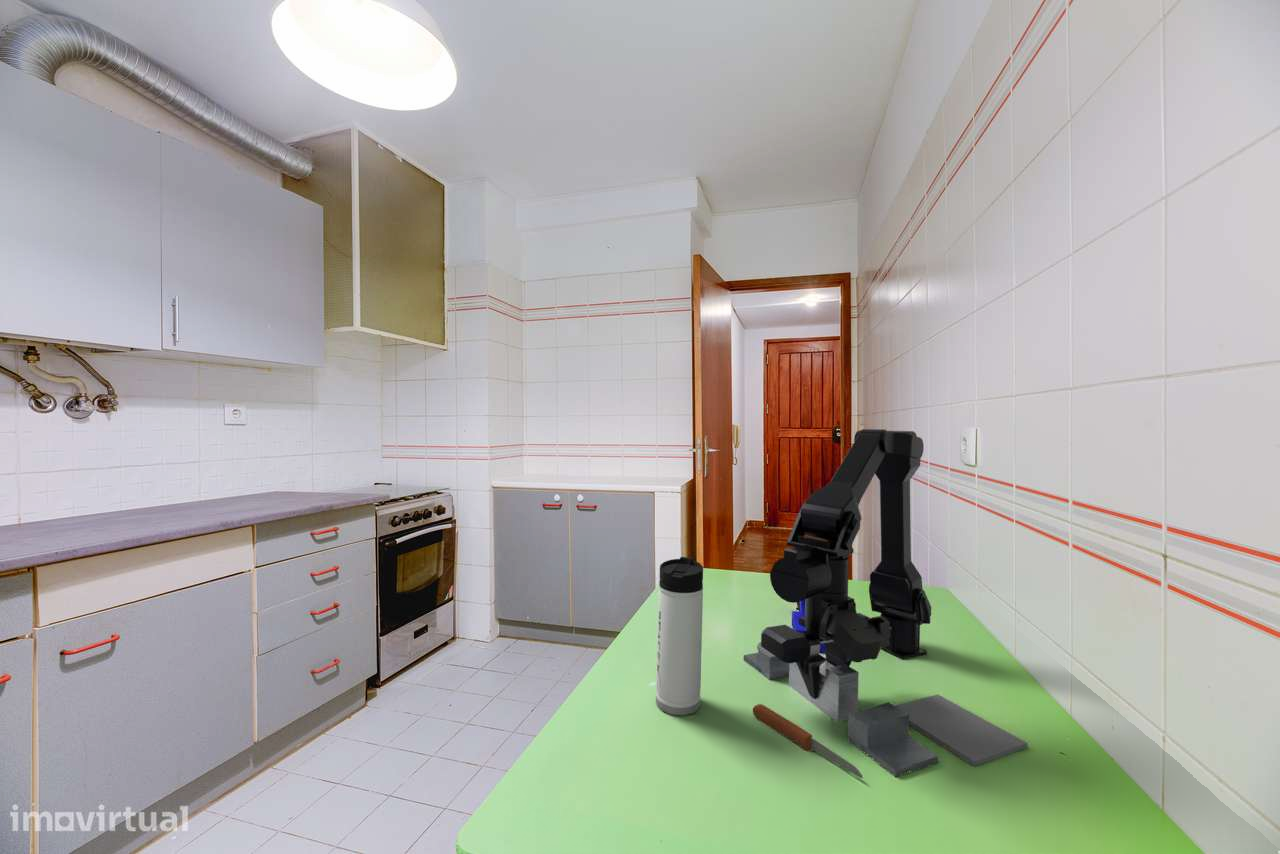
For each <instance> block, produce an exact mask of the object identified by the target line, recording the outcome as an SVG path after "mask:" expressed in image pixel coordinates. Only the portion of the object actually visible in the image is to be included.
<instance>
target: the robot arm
mask: <svg viewBox="0 0 1280 854" xmlns="http://www.w3.org/2000/svg"><path fill="white" fill-rule="evenodd" d="M923 454H924V441H923V438H921V437H919V436H917V433H916V432H915V431H914V430H887V429H884V428H882V429H879V428H862V429H860V430H857V431H856V432H855V434H854V439H853V443H852V445H851V447H849V450H848V451H847V454H845V457H844V458H843V460H842V461H841V464H840V465H839V467H838V468H837V470H836V472H835V473H834V475H833V476H832V478H831V480H830V482H829V483H828V484H826V485H825V486H822V487H820V488H819V489H818V488H817V490H814V491H813V493H811V494H810V496H809V497H808V498H807V499H806V500H805V501H804V503H803V504H802V506H801V507H800V510H799V511H798V513H797V517H796V519H795V521H794V523H793V526H792V529H791V531H790V534H789V537H788V539H787V542H786V545H787V546H788V547H787V548H784V550H783V557H782V558H779V559H777V560H776V562H774V563H773V565H772V568H771V570H770V571H769V573H770V574H769V580H770V584H771V587H772V589H773V590H774V592H775V594H777V596H778V597H780V599H782V600H784V601H785V602H787V603H794V604H795V603H796V604H797V602H800V601H802V600H805V617H799V624H800V625H801V626H803V627H805V631H803V632H797V631H796V630H794V629H793V627H791V626H789V625H787V624H779V625H774V626H766V627H765V628H764V629H762V631H761V634H760V635H761V636H760V638H761V639H760V642H761V647H763V648H764V649H766V650H767V651H769V652H770V653H771V654H773V655H774V656H776V657H777V658H779V659H780V660H782V661H783V662H786V663H795V662H796V664H797V666H798V668H799V670H800V673H801V675H802V678H803V680H804V683H805V685H806V688H807V690H808V692H809V695H810V696H811V697H812V698H813V699H817V695H818V689H819V672H820V665H821V664H822V663H824V662H825V661H827V662H828V663H830V664H832V665H833V666H839V665H844V664H846V665H847V666H849V667H851V666H850V665H851V664H852V662H853V663H857V664H859V663H862V662H863V661H867V660H876V659H878V656H879V653H880V651H881V649H882V650H884V651H886V652H888V653H890V654H892V655H894V656H896V657H898V658H899V659H903V660H904V659H909V658H913V657H917V656H923V655H927V654H928V649H925V648H923V647H921V646H920V642H921V639H920V638H921V636H920V635H921V625H923V624H925V625H927V624H929V625H930V624H931V616H932V605H931V603H930V600H929V599H928V596H927V594H926V592H925V590H924V589H923V578H922V575H921V574H920V572H919V570H918V569H917V568H916V566H915V565H914V563H913V562H912V546H911V545H912V543H911V541H912V539H911V538H912V536H911V533H912V532H911V531H912V530H911V527H912V526H911V525H912V524H911V479H912V478H913V476H914V475H915V474H916V473H917V471H918V469H920V466H921V458H922V457H923ZM874 476H876V478H877V479H878V480H879V508H880V509H879V510H880V513H879V514H880V515H879V517H880V562H879V563H878V565H877V566H876V567H875V569H874V570H873V571H871V573H870V575H869V578H870V579H869V581H870V582H869V584H868V585H869V586H868V594H869V601H870V607H871V609H870V610H871V612H876V613H879V614H880V616H879V615H878V616H873V617H869V616H868V615H865V614H863V613H861V612H858V611H857V603H856V602H855V598H854V597H851V596H849V564H850V563H849V560H850V559H849V558H850V557H849V555H852V554H854V552H855V551H854V547H852V545H853V543H854V541H855V539H856V536H857V535H858V533H859V531H860V528H861V521H862V514H861V511H860V507H859V505H860V504H861V500H862V498H863V496H864V494H865V493H866V491H867V490H868V487H869V485H870V484H871V481H872V479H873V478H874ZM822 643H824V646H825V653H824V654H825V657H824V656H823V655H821V653H820V645H821V644H822Z"/></svg>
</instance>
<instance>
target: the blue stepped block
mask: <svg viewBox="0 0 1280 854" xmlns="http://www.w3.org/2000/svg"><path fill="white" fill-rule="evenodd" d="M799 617H805V600H802V601H800V611H797V610H791V628H792V629H794V630H796V631H797V632H803V631H805V627H803V626H801V625H800V624H799ZM820 654H825V646H824V643H822V644H821V645H820Z"/></svg>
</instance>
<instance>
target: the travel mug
mask: <svg viewBox="0 0 1280 854" xmlns="http://www.w3.org/2000/svg"><path fill="white" fill-rule="evenodd" d="M659 565H660V566H659V582H658V583H659V584H658V603H657V604H658V608H657V613H658V614H657V644H656V645H657V646H656V647H657V650H656V652H657V653H656V684H655V685H656V686H655V687H656V691H655V703H656V705H657V707H658V708H659V709H660V710H661V711H662V712H664V713H667V714H668V715H669V714H670V715H673V716H688V715H690V714H694V713H695V712H697V710H699V708H700V706H701V684H702V683H701V682H702V681H701V680H702V679H701V678H702V647H703V645H702V644H703V643H702V642H703V641H702V638H703V607H704V606H703V604H704V600H703V599H704V592H703V591H704V582H703V580H704V566H703V565H702V563H700V562H699V561H696V560H694V559H693V557H690V556H689V557H687V556H680V557H679V558H674V559H668V560H665V561H663V562H662V563H661V564H659Z"/></svg>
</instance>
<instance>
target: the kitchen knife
mask: <svg viewBox="0 0 1280 854" xmlns="http://www.w3.org/2000/svg"><path fill="white" fill-rule="evenodd" d="M752 713H753V715H754V717H755V718H756V720H757V721H759V722H761V723H762V724H764V725H766V727H769V728H770V729H772V730H774V731H775V732H777V733H779V734H780V733H781V735H782V736H784V737H786V738H787V739H789V740H791V741H793V742H794V743H796V744H797V745H798V746H799V747H800V748H801V749H803V750H804V751H807V752H810V751H811V752H812V750H813V751H814V752H815V753H817V754H819V755H820V756H822V757H824V758H825V759H827V760H829V761H830V762H832V763H833V764H835V765H837V766H839V767H840V768H842V769H844V770H846V771H847V772H850V773H851V774H853V775H855V776H856V777H858V778H860V779H864V777H863V775H862V773H861V772H860V770H859V769H858V767H856V766H855V765H854V764H853V763H851V762H849V761H848V760H846V759H845V758H844V757H842V756H841V755H840V754H838V753H836V752H835V751H833V750H832V749H830V748H828V747H827V746H826V745H824V744H822V743H821V742H819V740H816V739H814V738H813V735H812V734H811V732H809V731H807V730H805V729H803V728H802V727H800V726H799V725H797V724H795V723H794V722H792V721H791V720H788V718H785V717H784V716H783V715H781V714H779V713H778V712H776V711H774V710H772V709H771V708H769V707H767V706H766V705H764V704H761V703H758V704H756V705H753V708H752Z"/></svg>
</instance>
